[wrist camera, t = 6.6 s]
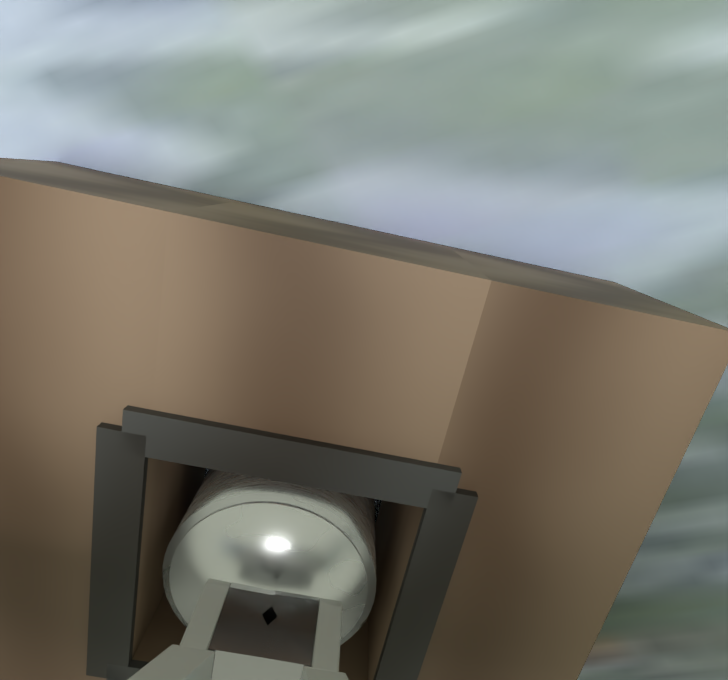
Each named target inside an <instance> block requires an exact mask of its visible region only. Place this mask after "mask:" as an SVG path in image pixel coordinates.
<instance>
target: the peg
mask: <svg viewBox="0 0 728 680" xmlns="http://www.w3.org/2000/svg"><path fill="white" fill-rule="evenodd" d="M162 578H163V585H164V590H165V593H166V596H167V599H168V601H169V603H170V605H171V607H172V609H173V611H174V612H175V614H176V615H177V617H178V618H179V620H180V621H181V622H182V623H183V624H184V625H185V627H186V628H187V626H188V623H189V621H190V619H191V616H192V614H193V611H194V609H195V606H196V604H197V602H198V599H199V597H200V594H201V592H202V589H203V587H204V585H205V583H206V582H207V580H208V579H209V578H211V579H216V580H221V581H226V582H231V583H232V582H233V583H238V584H243V585H248V586H253V587H258V588H263V589H268V590H273V591H282V592H288V593H294V594H300V595H307V596H313V597H319V599H320V598H324V599H330V600H336V601H341V602H342V605H343V610H342V626H341V642H340V645H342V644H343V643H344V642H346V641H347V640H348V639H350V638H351V637H352V636H353V635H354V634H355V633H356V632H357V631H358V630H359V629H360V627H361V626H362V625H363V623H364V622H365V620H366V619H367V617H368V615H369V613H370V611H371V608H372V606H373V603H374V599H375V594H376V548H375V507H374V499H372V498H367V497H361V496H356V495H350V494H345V493H339V492H334V491H328V490H323V489H317V488H312V487H306V486H301V485H295V484H290V483H284V482H279V481H273V480H268V479H262V478H257V477H252V476H246V475H241V474H235V473H230V472H224V471H219V470H213V469H209V471H208V473H207V475H206V477H205V479H204V480H203V482H202V484H201V486H200V488H199V489H198V491H197V493H196V495H195V497H194V499H193V500H192V502H191V504H190V506H189V508H188V510H187V511H186V513H185V515H184V517H183V519H182V521H181V522H180V524H179V526H178V528H177V530H176V532H175V533H174V535H173V537H172V539H171V541H170V543H169V544H168V547H167V550H166V553H165V556H164V561H163V570H162Z"/></svg>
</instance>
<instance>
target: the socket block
mask: <svg viewBox="0 0 728 680" xmlns="http://www.w3.org/2000/svg"><path fill="white" fill-rule="evenodd" d="M727 364H728V328H726V327H724V326H722V325H719V324H717V323H714V322H712V321H709V320H707V319H704V318H702V317H699V316H697V315H694V314H692V313H689V312H687V311H684V310H682V309H679V308H677V307H675V306H672V305H670V304H667V303H665V302H662V301H660V300H657V299H655V298H652V297H650V296H647V295H645V294H642V293H640V292H637V291H635V290H632V289H630V288H628V287H625V286H623V285H620V284H618V283H615V282H611V281H606V280H602V279H597V278H592V277H588V276H583V275H578V274H574V273H569V272H565V271H560V270H555V269H551V268H546V267H541V266H537V265H532V264H528V263H523V262H518V261H514V260H509V259H504V258H500V257H495V256H490V255H486V254H481V253H477V252H472V251H467V250H463V249H458V248H453V247H449V246H444V245H440V244H435V243H430V242H426V241H421V240H416V239H412V238H407V237H403V236H398V235H393V234H389V233H384V232H379V231H375V230H370V229H365V228H361V227H356V226H352V225H347V224H342V223H338V222H333V221H328V220H324V219H319V218H315V217H310V216H305V215H301V214H296V213H291V212H287V211H282V210H278V209H273V208H268V207H264V206H259V205H254V204H250V203H245V202H240V201H236V200H231V199H227V198H222V197H217V196H213V195H208V194H203V193H199V192H194V191H190V190H185V189H180V188H176V187H171V186H166V185H162V184H157V183H152V182H148V181H143V180H139V179H134V178H129V177H125V176H120V175H115V174H111V173H106V172H102V171H97V170H92V169H88V168H83V167H78V166H74V165H69V164H65V163H60V162H55V161H40V160H24V159H9V158H0V680H127V679H129V678H130V677H131V676H133V675H134V674H135V673H136V672H138V671H139V670H140V669H141V668H143V667H144V666H145V665H147V664H148V663H149V662H150V661H152V660H153V659H154V658H156V657H157V656H158V655H159V654H161V653H162V652H163V651H164V650H166V649H167V648H168V647H170V646H171V645H172V644H174V645H180V643H181V640H182V638H183V635H184V633H185V631H186V627H185V625H184V624H183V623H182V622H181V621H180V620H179V618H178V617H177V615H176V614H175V612H174V611H173V609H172V607H171V605H170V603H169V601H168V599H167V596H166V593H165V590H164V585H163V578H162V570H163V561H164V556H165V553H166V550H167V547H168V544H169V543H170V541H171V539H172V537H173V535H174V533H175V532H176V530H177V528H178V526H179V524H180V522H181V521H182V519H183V517H184V515H185V513H186V511H187V510H188V508H189V506H190V504H191V502H192V500H193V499H194V497H195V495H196V493H197V491H198V489H199V488H200V486H201V484H202V482H203V480H204V476H205V468H208V469H213V470H219V471H224V472H230V473H235V474H241V475H246V476H252V477H257V478H262V479H268V480H273V481H279V482H284V483H290V484H295V485H301V486H306V487H312V488H317V489H323V490H328V491H334V492H339V493H345V494H350V495H356V496H361V497H367V498H372V499H378V500H382V501H381V505H380V509H379V512H378V516H377V520H376V524H375V548H376V594H375V599H374V603H373V606H372V608H371V611H370V613H369V615H368V617H367V619H366V620H365V622H364V623H363V625H362V626H361V627H360V629H359V630H358V631H357V632H356V633H355V634H354V635H353V636H352V637H351V638H350V639H348V640H347V641H346V642H344V643H343V644H342V645H340V658H339V672H343V673H346V675H347V677H348V679H349V680H577V678H578V676H579V674H580V672H581V670H582V668H583V666H584V664H585V662H586V659H587V657H588V655H589V653H590V651H591V649H592V647H593V645H594V643H595V641H596V639H597V636H598V634H599V632H600V630H601V628H602V626H603V624H604V622H605V620H606V618H607V615H608V613H609V611H610V609H611V607H612V605H613V603H614V601H615V599H616V597H617V594H618V592H619V590H620V588H621V586H622V584H623V582H624V580H625V578H626V576H627V574H628V571H629V569H630V567H631V565H632V563H633V561H634V559H635V557H636V555H637V553H638V550H639V548H640V546H641V544H642V542H643V540H644V538H645V536H646V534H647V532H648V530H649V527H650V525H651V523H652V521H653V519H654V517H655V515H656V513H657V511H658V509H659V506H660V504H661V502H662V500H663V498H664V496H665V494H666V492H667V490H668V488H669V486H670V483H671V481H672V479H673V477H674V475H675V473H676V471H677V469H678V467H679V465H680V462H681V460H682V458H683V456H684V454H685V452H686V450H687V448H688V446H689V444H690V442H691V439H692V437H693V435H694V433H695V431H696V429H697V427H698V425H699V423H700V421H701V418H702V416H703V414H704V412H705V410H706V408H707V406H708V404H709V402H710V400H711V398H712V395H713V393H714V391H715V389H716V387H717V385H718V383H719V381H720V379H721V377H722V374H723V372H724V370H725V368H726V366H727Z"/></svg>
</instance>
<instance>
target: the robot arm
mask: <svg viewBox="0 0 728 680" xmlns="http://www.w3.org/2000/svg"><path fill="white" fill-rule="evenodd" d="M342 610H343V605H342V602H341V601H336V600H330V599H324V598H320V599H319V597H313V596H307V595H300V594H294V593H288V592H282V591H273V590H268V589H263V588H258V587H253V586H248V585H243V584H238V583H233V582H232V583H231V582H226V581H221V580H216V579H211V578H209V579H208V580H207V582H206V583H205V585H204V587H203V589H202V592H201V594H200V597H199V599H198V602H197V604H196V606H195V609H194V611H193V614H192V616H191V619H190V621H189V623H188V626H187V628H186V631H185V633H184V635H183V638H182V640H181V643H180V645H174V644H172V645H171V646H170V647H168V648H167V649H166V650H164V651H163V652H162V653H161V654H159V655H158V656H157V657H156V658H154V659H153V660H152V661H150V662H149V663H148V664H147V665H145V666H144V667H143V668H141V669H140V670H139V671H138V672H136V673H135V674H134V675H133V676H131V677H130V678H129V679H127V680H349V679H348V677H347V675H346V673H343V672H339V658H340V642H341V626H342Z"/></svg>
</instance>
